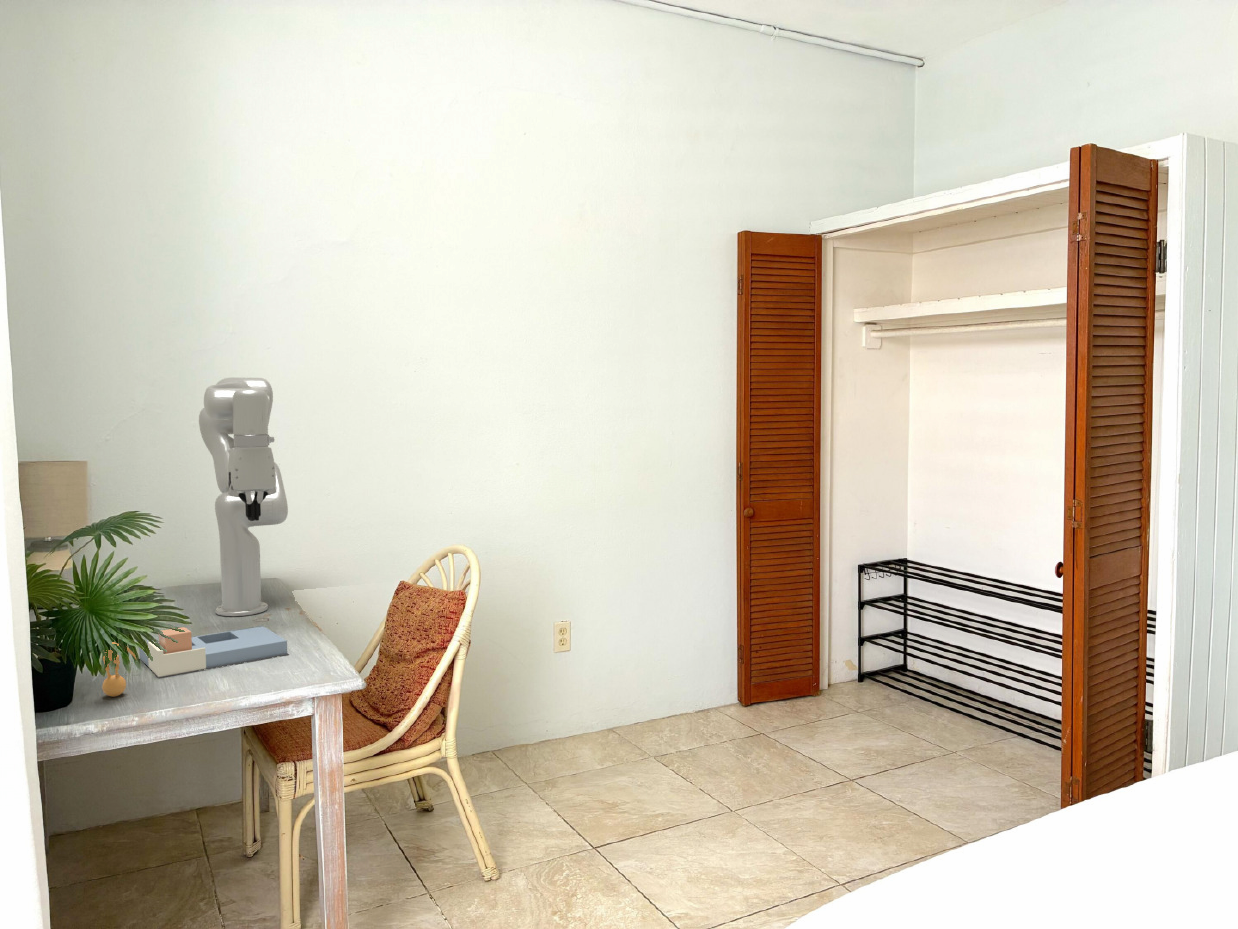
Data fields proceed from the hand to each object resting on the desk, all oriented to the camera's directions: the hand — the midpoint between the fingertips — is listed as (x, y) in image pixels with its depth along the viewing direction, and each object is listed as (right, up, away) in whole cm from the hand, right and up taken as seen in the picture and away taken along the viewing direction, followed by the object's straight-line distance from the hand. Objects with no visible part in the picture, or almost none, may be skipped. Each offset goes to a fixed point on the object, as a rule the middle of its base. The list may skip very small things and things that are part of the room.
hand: (253, 519), depth 217 cm
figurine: (-9, -31, -44) cm, 54 cm away
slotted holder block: (-2, -29, -17) cm, 33 cm away
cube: (-6, -26, -26) cm, 38 cm away
